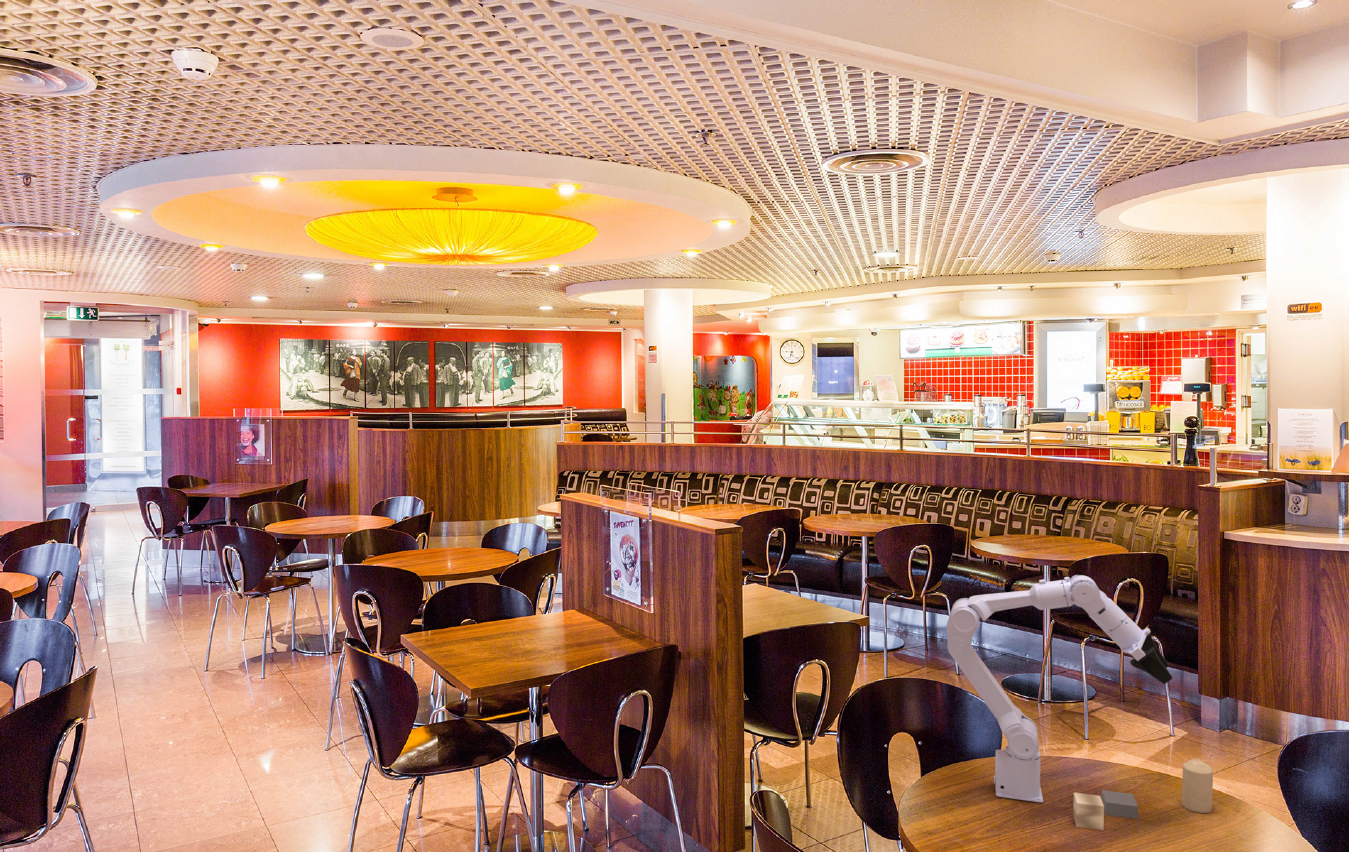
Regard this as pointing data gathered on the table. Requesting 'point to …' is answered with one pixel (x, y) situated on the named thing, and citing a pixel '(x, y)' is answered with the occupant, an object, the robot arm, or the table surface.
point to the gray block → (1119, 804)
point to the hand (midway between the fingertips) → (1166, 674)
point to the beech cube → (1088, 811)
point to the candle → (1197, 786)
